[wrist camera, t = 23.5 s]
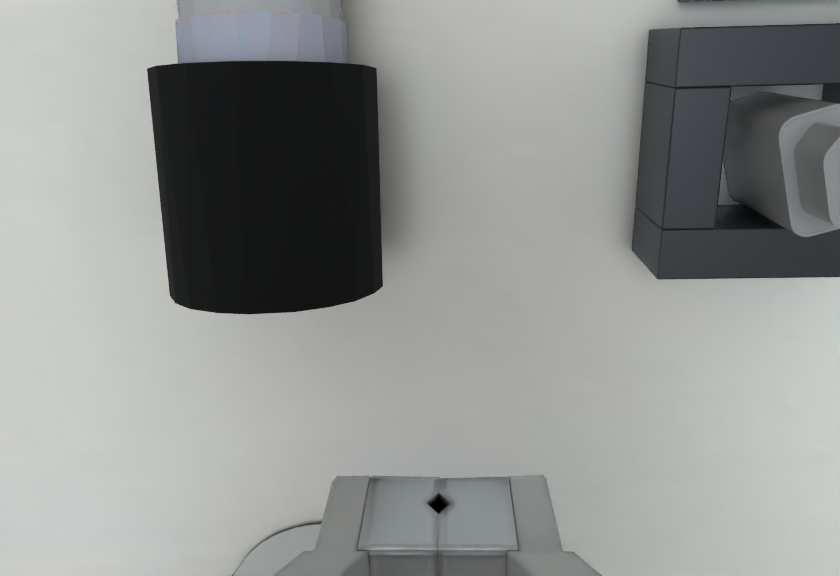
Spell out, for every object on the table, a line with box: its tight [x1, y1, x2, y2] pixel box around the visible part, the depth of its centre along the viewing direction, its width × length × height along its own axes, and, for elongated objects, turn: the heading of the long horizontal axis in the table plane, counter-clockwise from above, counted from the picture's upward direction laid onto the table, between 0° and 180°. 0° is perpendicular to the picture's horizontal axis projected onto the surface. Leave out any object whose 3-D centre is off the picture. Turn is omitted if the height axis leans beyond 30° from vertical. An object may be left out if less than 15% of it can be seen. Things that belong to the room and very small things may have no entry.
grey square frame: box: [632, 23, 840, 279], centre depth 34 cm, size 12×12×5 cm
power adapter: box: [723, 92, 840, 237], centre depth 31 cm, size 3×5×12 cm, turn 17°
